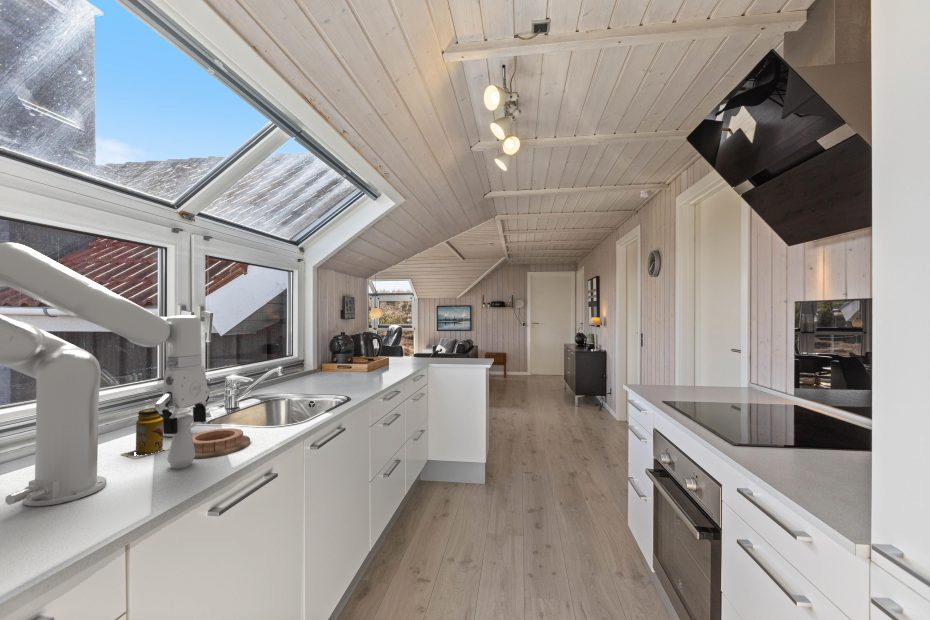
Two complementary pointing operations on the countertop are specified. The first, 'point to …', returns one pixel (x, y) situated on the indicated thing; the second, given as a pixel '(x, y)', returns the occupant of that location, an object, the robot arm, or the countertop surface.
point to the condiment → (148, 433)
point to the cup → (182, 412)
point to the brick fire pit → (219, 442)
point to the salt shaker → (182, 444)
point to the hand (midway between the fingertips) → (185, 427)
